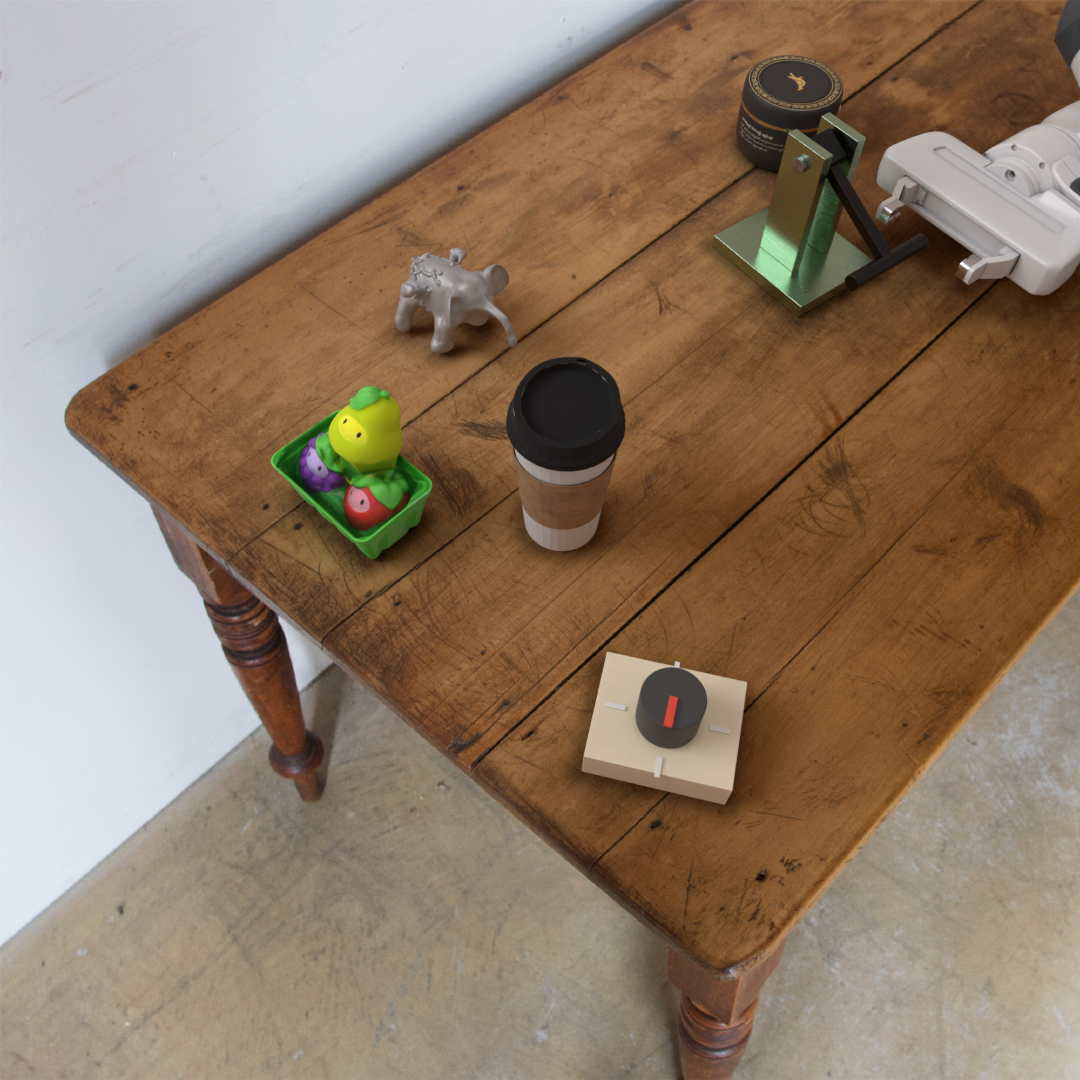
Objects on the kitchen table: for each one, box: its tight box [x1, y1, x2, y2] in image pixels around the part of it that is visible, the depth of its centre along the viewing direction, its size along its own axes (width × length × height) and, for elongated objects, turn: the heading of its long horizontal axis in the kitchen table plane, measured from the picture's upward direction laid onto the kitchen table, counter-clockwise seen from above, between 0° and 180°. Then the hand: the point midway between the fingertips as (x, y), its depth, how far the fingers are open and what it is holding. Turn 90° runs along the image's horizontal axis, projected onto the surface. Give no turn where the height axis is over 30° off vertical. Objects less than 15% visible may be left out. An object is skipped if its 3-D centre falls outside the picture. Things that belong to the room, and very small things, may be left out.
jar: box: [735, 54, 844, 174], centre depth 103 cm, size 10×10×8 cm
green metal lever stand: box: [711, 112, 874, 318], centre depth 91 cm, size 12×10×14 cm
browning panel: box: [581, 651, 748, 805], centre depth 69 cm, size 10×9×3 cm
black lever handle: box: [811, 128, 930, 292], centre depth 87 cm, size 13×9×2 cm
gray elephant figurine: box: [394, 246, 518, 354], centre depth 88 cm, size 9×12×8 cm
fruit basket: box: [270, 385, 433, 561], centre depth 76 cm, size 11×9×11 cm
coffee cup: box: [505, 356, 627, 552], centre depth 74 cm, size 8×8×15 cm
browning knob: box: [635, 667, 707, 748], centre depth 66 cm, size 4×4×4 cm
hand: (921, 244), depth 88 cm, fingers open, 8 cm apart
